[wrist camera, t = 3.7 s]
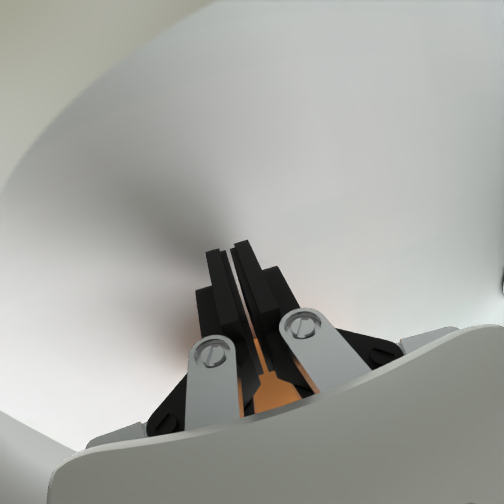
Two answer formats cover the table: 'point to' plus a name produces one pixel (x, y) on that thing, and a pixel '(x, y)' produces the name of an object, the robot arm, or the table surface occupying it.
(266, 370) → the ball
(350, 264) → the table surface
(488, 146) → the table surface
